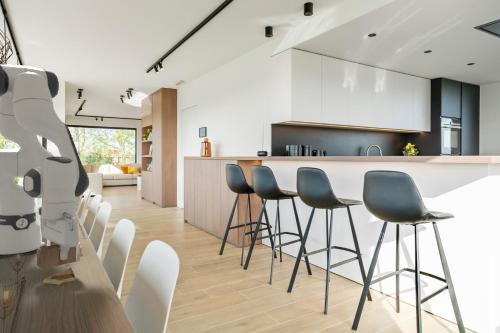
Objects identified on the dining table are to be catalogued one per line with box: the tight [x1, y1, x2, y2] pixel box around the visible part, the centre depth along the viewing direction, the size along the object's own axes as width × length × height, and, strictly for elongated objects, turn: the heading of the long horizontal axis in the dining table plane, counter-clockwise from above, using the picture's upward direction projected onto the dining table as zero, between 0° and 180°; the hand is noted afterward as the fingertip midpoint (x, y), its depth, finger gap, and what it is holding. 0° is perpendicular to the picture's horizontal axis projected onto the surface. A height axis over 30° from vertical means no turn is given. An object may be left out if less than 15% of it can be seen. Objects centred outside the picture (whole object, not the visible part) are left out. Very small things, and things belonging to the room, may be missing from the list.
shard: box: [42, 267, 76, 286], centre depth 98 cm, size 11×8×2 cm
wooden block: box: [36, 243, 81, 270], centre depth 97 cm, size 5×5×10 cm
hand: (59, 257), depth 97 cm, fingers closed on wooden block, 5 cm apart
